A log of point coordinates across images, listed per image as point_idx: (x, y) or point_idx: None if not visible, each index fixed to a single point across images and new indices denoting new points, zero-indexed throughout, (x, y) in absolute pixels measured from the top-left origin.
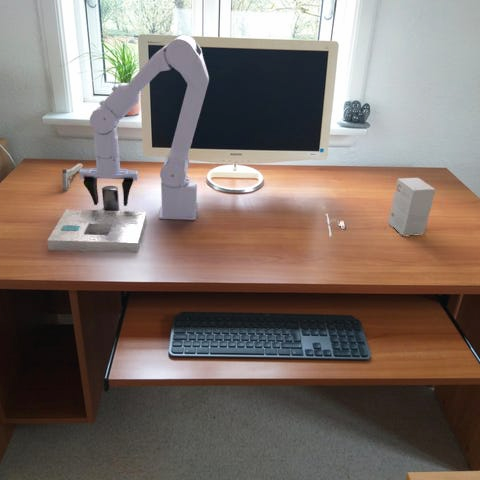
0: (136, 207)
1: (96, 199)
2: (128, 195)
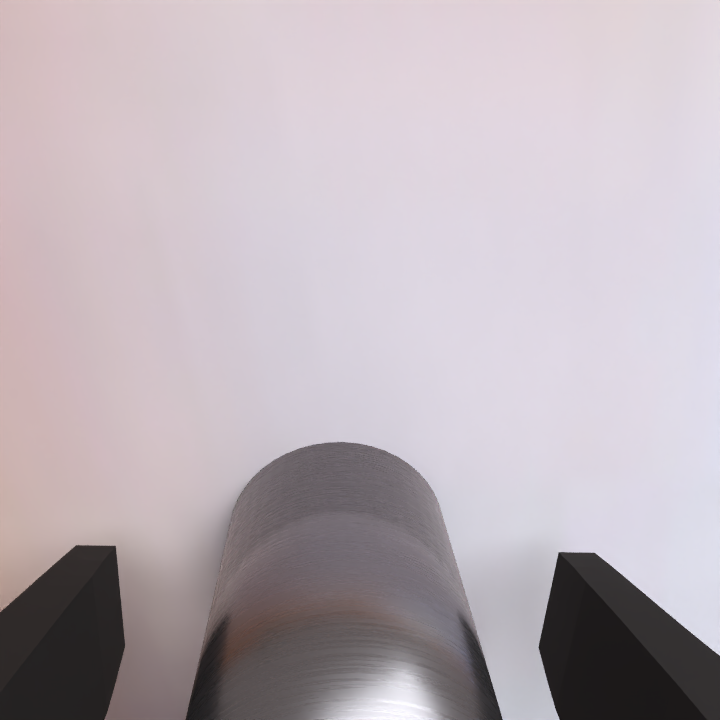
0: (682, 461)
1: (90, 710)
2: (686, 638)
